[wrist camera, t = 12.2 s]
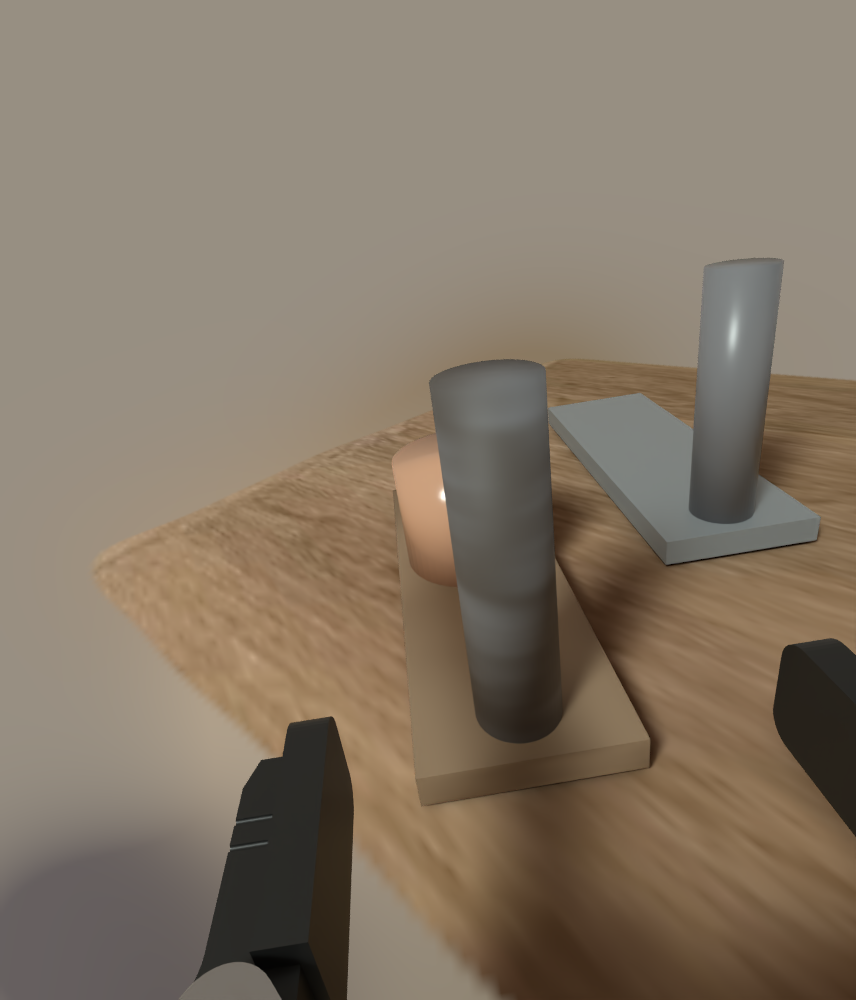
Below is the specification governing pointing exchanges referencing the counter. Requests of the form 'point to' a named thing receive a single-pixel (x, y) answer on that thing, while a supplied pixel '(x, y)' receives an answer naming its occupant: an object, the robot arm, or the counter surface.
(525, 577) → the peg on wooden base
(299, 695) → the counter surface
